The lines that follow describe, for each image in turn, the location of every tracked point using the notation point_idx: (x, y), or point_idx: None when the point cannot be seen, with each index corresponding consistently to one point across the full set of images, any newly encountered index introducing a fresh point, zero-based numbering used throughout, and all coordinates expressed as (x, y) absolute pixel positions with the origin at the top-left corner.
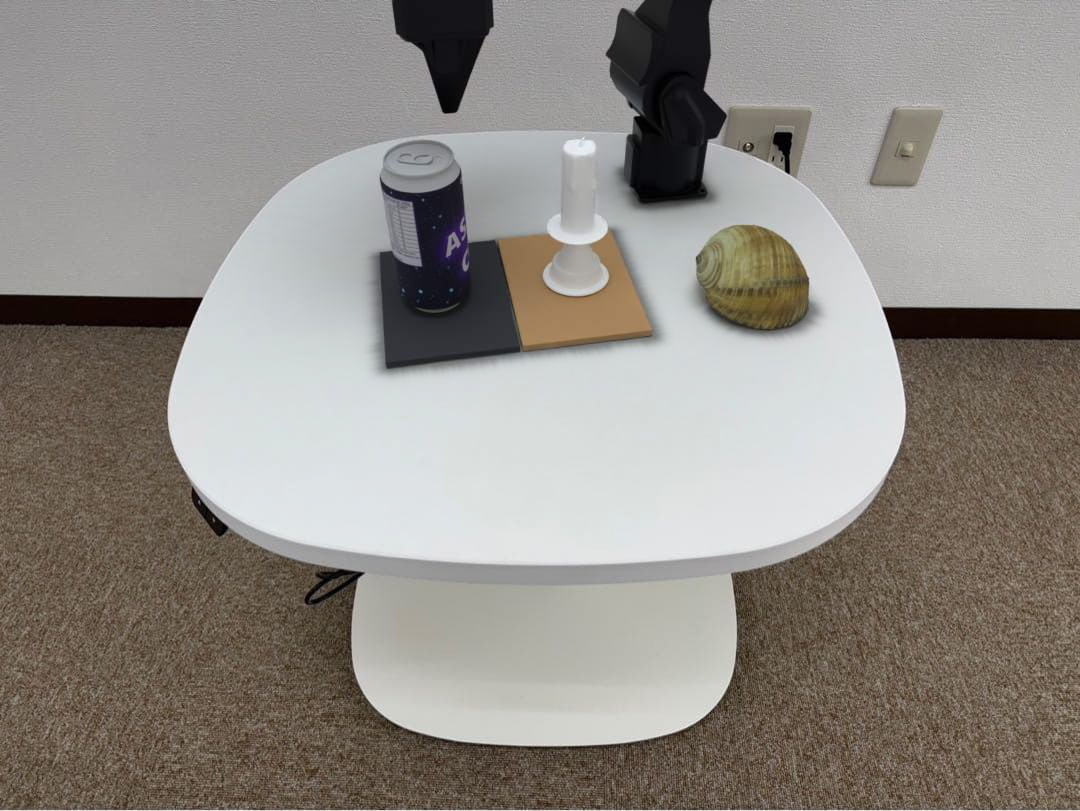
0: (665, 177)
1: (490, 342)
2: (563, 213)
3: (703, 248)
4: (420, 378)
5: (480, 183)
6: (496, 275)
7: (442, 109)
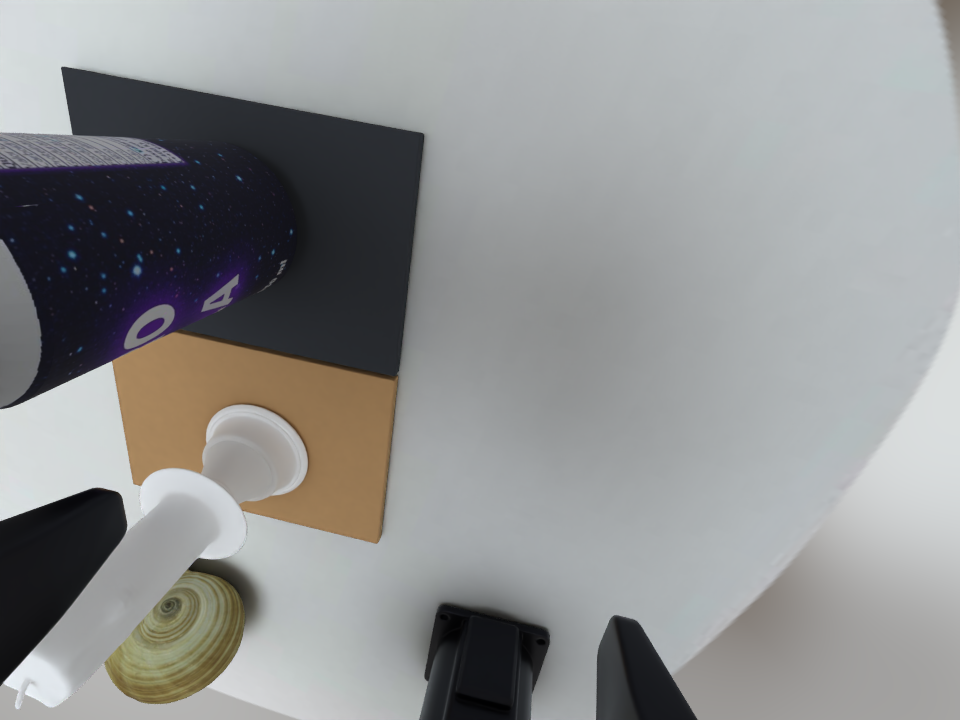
0: (434, 668)
1: None
2: (149, 518)
3: (177, 622)
4: (53, 129)
5: (629, 420)
6: (286, 341)
7: (71, 497)
